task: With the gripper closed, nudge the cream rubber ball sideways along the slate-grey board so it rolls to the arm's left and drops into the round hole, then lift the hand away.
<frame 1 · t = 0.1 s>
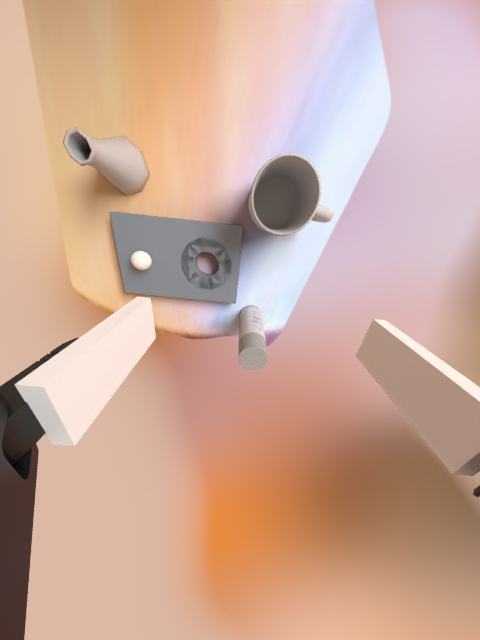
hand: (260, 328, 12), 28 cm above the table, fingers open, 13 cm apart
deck: (182, 259, 37), on the table
container: (250, 314, 43), on the table
mug: (282, 207, 33), on the table
flask: (126, 167, 31), on the table
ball: (141, 260, 33), point 4 cm above the table, touching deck
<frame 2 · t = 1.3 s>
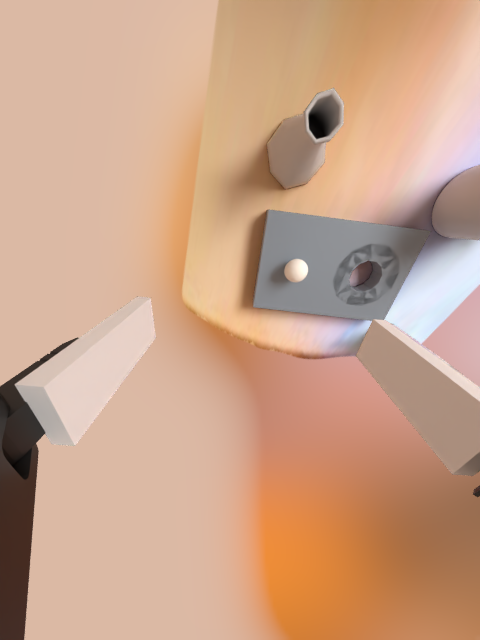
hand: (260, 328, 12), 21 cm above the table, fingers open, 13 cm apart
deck: (326, 269, 31), on the table
mug: (473, 208, 27), on the table
flask: (295, 154, 24), on the table
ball: (295, 270, 27), point 4 cm above the table, touching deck
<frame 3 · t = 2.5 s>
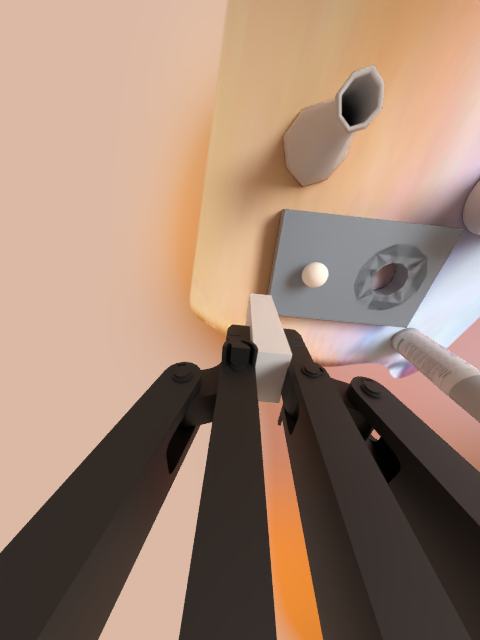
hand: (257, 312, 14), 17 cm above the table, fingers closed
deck: (345, 271, 29), on the table
container: (404, 338, 34), on the table
flask: (313, 148, 22), on the table
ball: (314, 275, 25), point 4 cm above the table, touching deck
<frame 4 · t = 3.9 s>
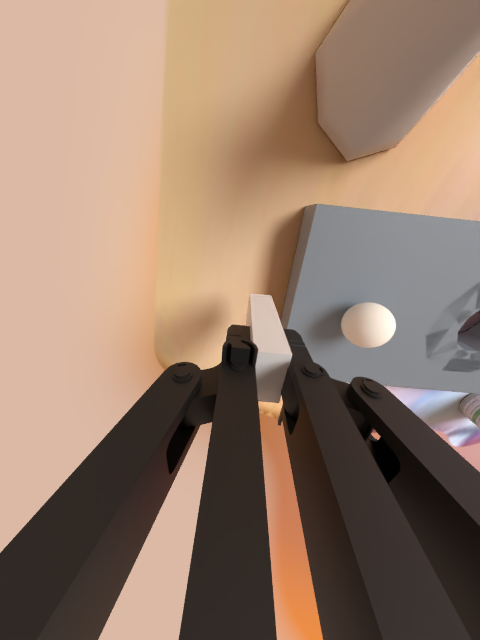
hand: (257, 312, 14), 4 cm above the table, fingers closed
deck: (405, 308, 17), on the table
container: (479, 399, 23), on the table
flask: (375, 81, 11), on the table
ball: (366, 325, 14), point 4 cm above the table, touching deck
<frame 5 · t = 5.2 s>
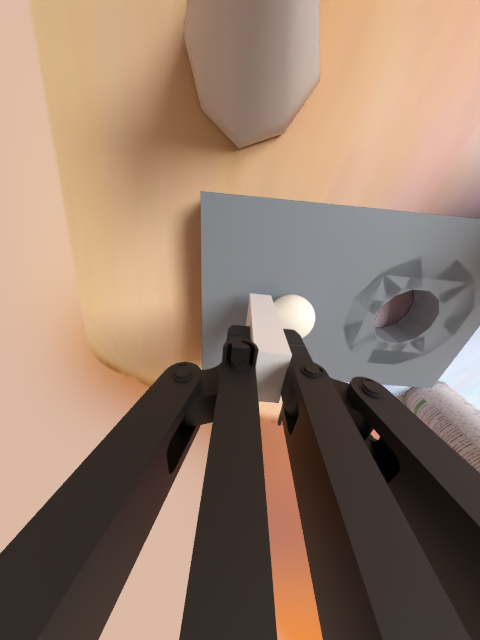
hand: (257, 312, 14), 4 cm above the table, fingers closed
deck: (330, 300, 17), on the table
container: (424, 393, 22), on the table
flask: (253, 65, 11), on the table
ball: (290, 317, 13), point 4 cm above the table, tilted 55°, touching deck, gripper
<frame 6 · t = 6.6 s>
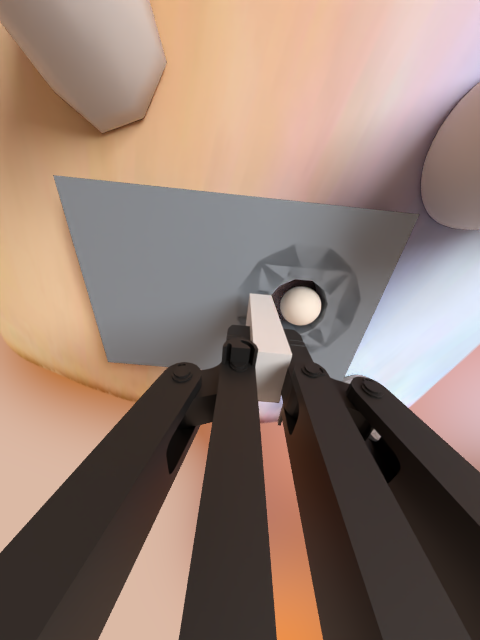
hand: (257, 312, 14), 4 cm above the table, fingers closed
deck: (233, 292, 17), on the table
flask: (100, 46, 11), on the table
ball: (300, 305, 16), point 2 cm above the table, tilted 55°
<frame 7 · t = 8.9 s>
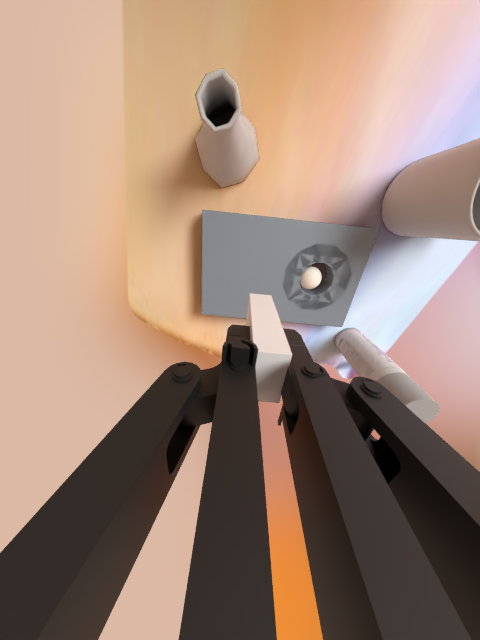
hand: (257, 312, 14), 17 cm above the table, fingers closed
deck: (278, 272, 29), on the table
container: (347, 338, 34), on the table
mug: (425, 204, 25), on the table
flask: (228, 150, 23), on the table
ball: (309, 277, 28), point 2 cm above the table, tilted 12°
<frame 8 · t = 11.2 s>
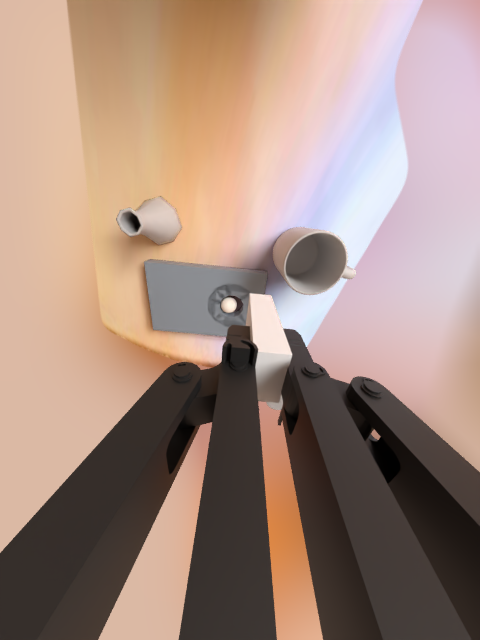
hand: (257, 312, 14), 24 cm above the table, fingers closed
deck: (208, 299, 39), on the table
mug: (304, 255, 35), on the table
flask: (160, 221, 33), on the table
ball: (228, 304, 38), point 2 cm above the table, tilted 14°
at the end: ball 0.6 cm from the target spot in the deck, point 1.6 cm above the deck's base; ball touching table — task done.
